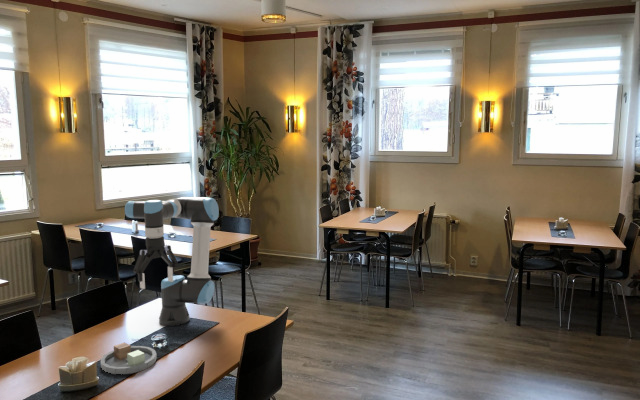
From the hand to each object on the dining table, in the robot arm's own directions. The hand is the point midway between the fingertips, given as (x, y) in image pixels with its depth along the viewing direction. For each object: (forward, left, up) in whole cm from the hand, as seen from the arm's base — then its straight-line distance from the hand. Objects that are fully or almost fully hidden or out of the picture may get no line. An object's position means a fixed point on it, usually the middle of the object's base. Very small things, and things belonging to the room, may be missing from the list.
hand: (156, 284), depth 225 cm
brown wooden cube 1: (-8, -13, -31) cm, 34 cm away
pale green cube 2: (+3, -13, -31) cm, 34 cm away
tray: (-3, -13, -32) cm, 34 cm away
